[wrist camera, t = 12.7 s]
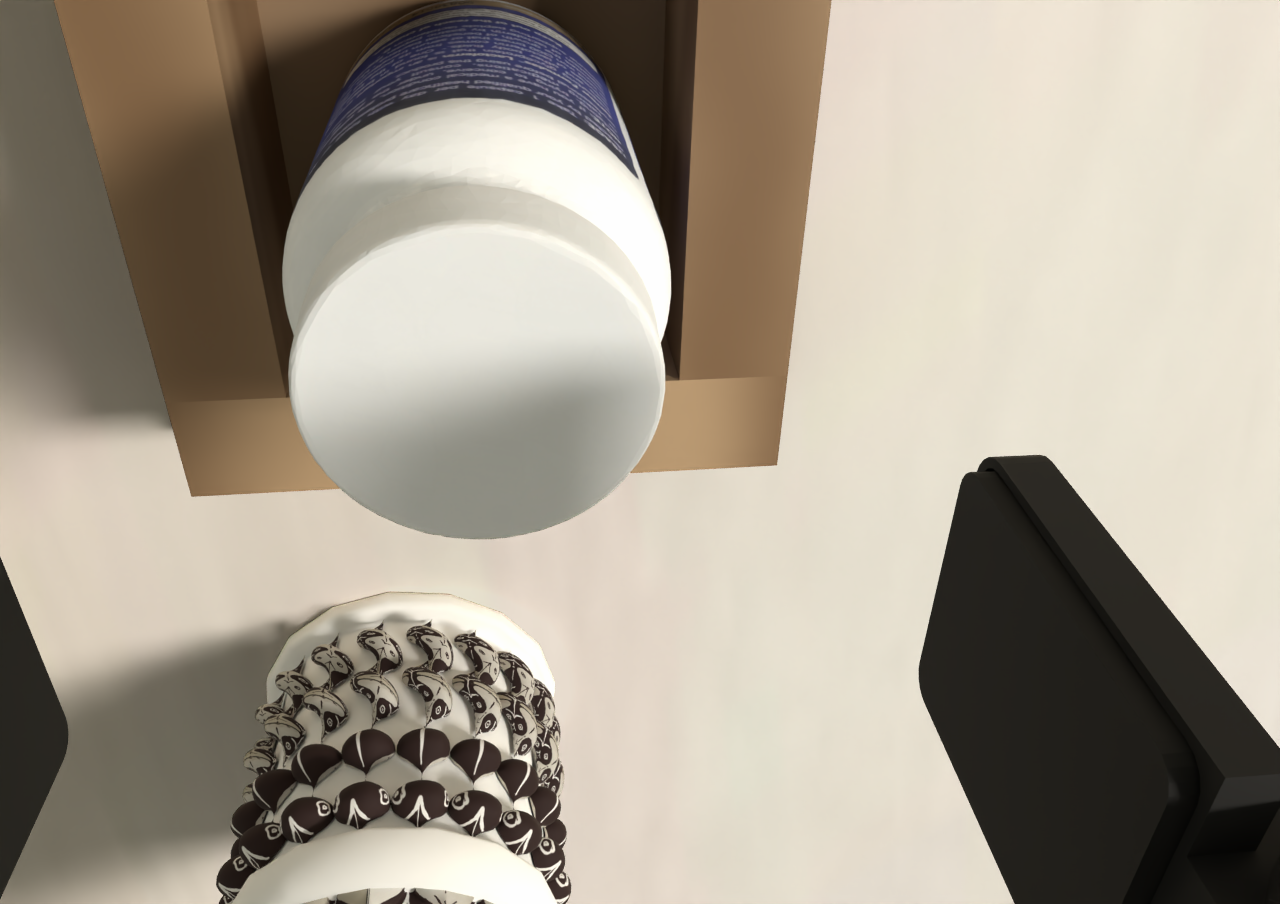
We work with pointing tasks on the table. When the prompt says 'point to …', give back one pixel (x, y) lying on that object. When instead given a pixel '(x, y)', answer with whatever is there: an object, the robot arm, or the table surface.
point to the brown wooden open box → (289, 138)
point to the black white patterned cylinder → (404, 763)
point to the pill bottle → (476, 279)
